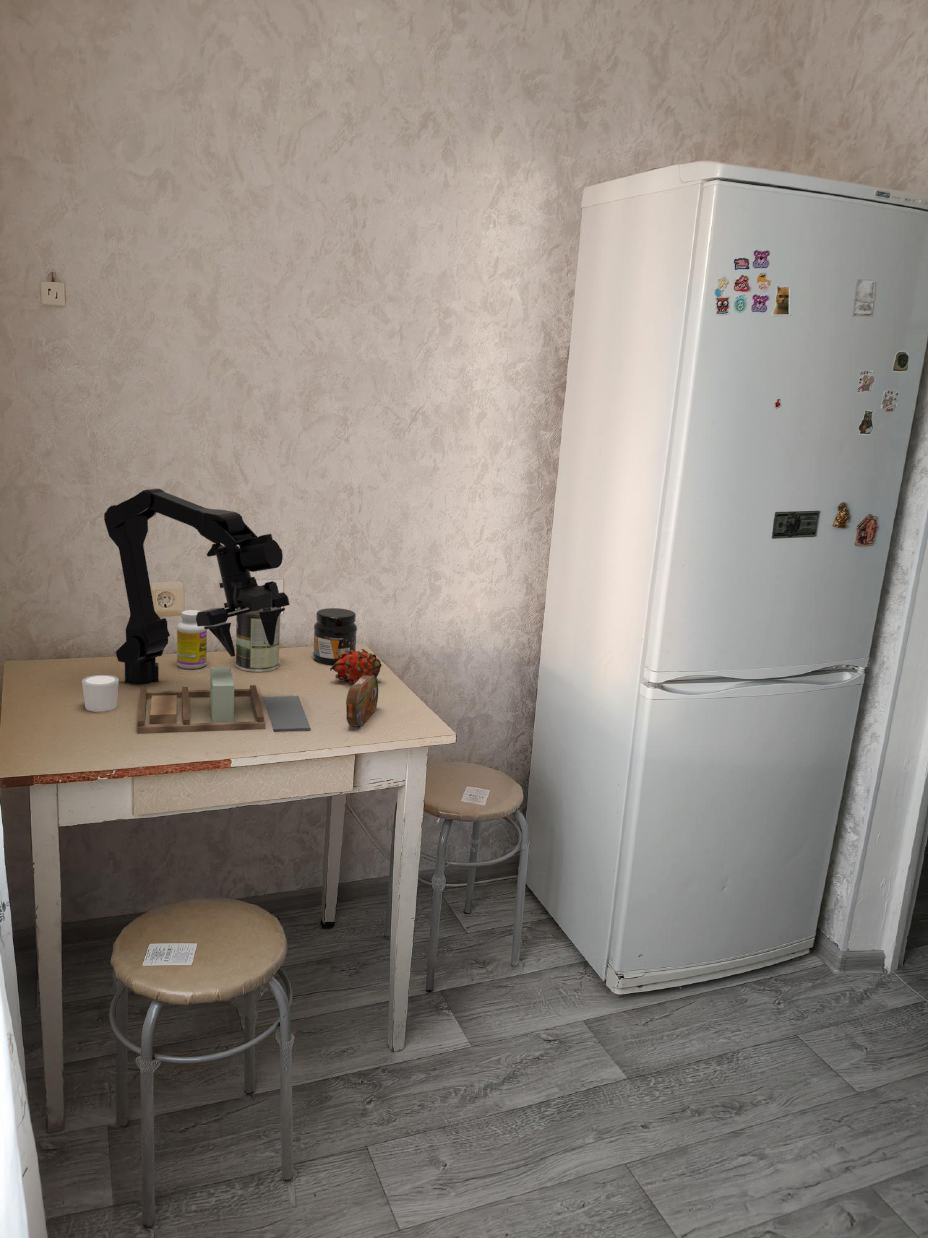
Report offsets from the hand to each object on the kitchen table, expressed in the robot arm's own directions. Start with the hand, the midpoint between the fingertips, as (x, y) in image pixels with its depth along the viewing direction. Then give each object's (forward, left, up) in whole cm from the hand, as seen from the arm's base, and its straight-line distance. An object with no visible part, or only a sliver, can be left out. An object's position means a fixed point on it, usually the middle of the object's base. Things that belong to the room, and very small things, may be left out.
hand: (252, 650), depth 191 cm
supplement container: (+23, +36, -14) cm, 45 cm away
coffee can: (+4, +32, -14) cm, 35 cm away
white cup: (-29, +3, -14) cm, 32 cm away
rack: (-10, -2, -13) cm, 17 cm away
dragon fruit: (+25, +18, -14) cm, 34 cm away
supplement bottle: (-11, +33, -14) cm, 37 cm away
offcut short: (-17, -2, -12) cm, 21 cm away
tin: (+22, -5, -14) cm, 26 cm away
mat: (+6, -1, -13) cm, 15 cm away
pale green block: (-6, -2, -13) cm, 15 cm away
